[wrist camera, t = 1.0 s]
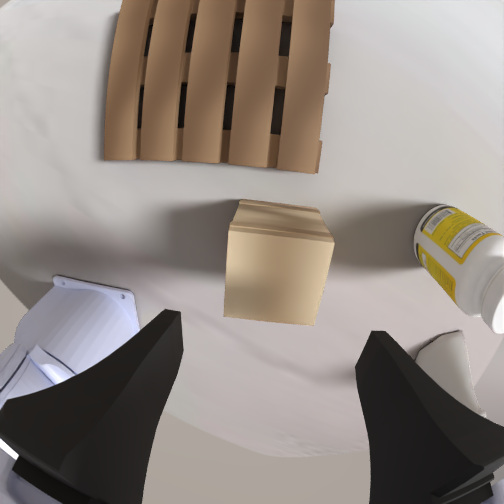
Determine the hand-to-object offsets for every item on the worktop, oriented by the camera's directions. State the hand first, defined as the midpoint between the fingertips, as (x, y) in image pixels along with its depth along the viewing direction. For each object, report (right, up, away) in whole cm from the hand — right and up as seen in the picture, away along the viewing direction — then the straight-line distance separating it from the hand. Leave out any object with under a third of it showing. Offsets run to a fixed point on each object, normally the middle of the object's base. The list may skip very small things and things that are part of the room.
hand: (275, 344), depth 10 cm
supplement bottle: (+14, +5, +8) cm, 17 cm away
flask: (+19, -8, +14) cm, 25 cm away
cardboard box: (+1, +4, +9) cm, 10 cm away
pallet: (-3, +15, +5) cm, 16 cm away
